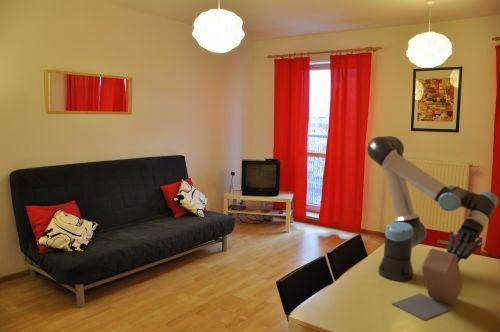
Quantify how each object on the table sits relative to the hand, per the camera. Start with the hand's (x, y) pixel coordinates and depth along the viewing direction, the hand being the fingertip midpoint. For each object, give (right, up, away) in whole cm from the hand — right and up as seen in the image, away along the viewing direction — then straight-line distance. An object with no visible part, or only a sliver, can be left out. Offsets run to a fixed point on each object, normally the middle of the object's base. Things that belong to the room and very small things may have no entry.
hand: (447, 269), depth 160 cm
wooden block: (0, -9, +1) cm, 9 cm away
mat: (-13, -13, -6) cm, 19 cm away
